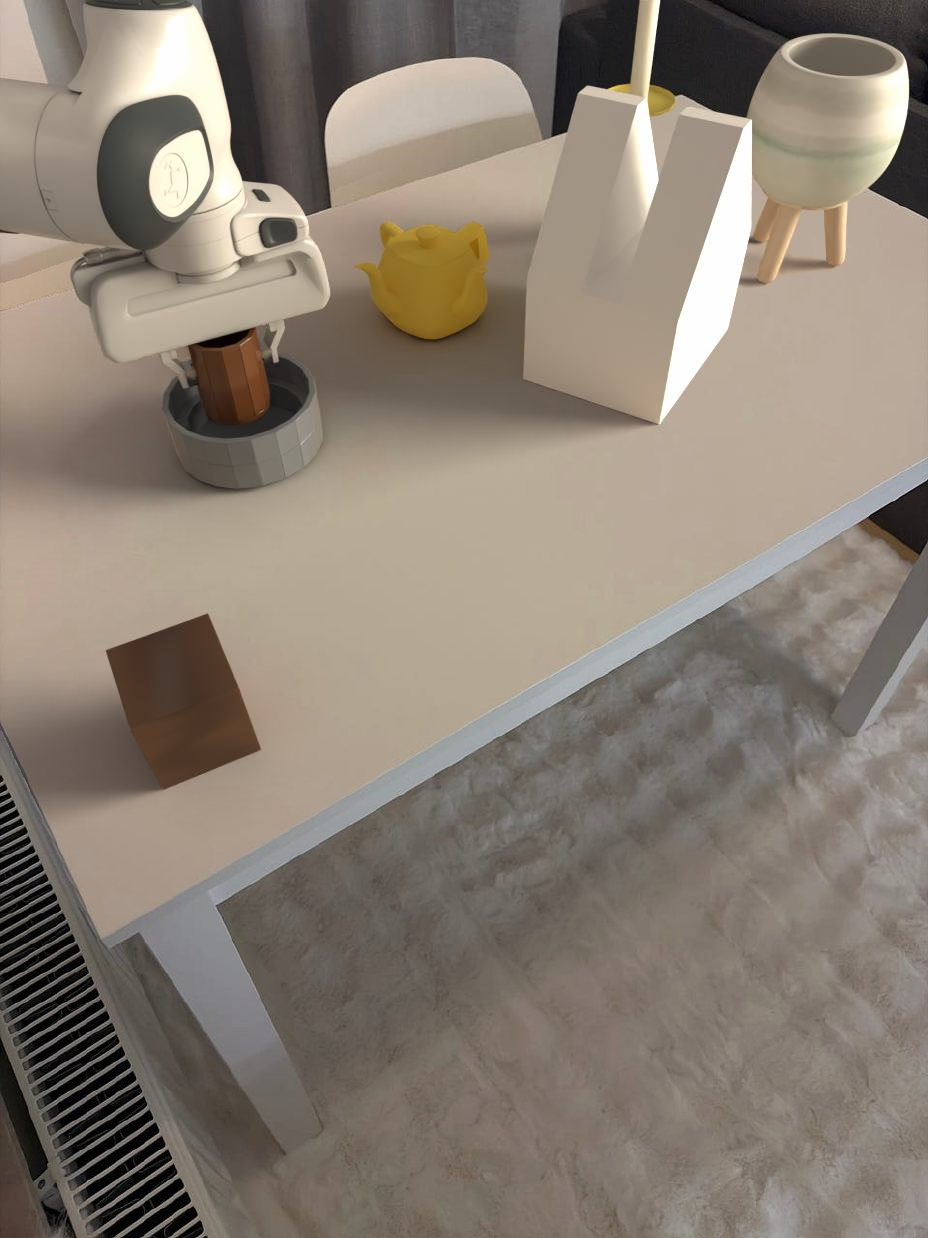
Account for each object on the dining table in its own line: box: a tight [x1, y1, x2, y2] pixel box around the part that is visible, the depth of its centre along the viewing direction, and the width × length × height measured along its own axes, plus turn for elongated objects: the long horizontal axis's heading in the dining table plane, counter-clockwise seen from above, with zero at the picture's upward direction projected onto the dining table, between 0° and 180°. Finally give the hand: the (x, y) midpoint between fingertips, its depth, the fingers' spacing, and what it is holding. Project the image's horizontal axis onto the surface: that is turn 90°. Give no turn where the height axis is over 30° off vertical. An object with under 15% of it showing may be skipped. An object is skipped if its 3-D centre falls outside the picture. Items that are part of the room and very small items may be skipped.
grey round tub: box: [161, 351, 324, 490], centre depth 88 cm, size 14×14×6 cm
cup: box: [185, 327, 270, 425], centre depth 84 cm, size 6×6×8 cm
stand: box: [105, 613, 262, 790], centre depth 66 cm, size 7×7×8 cm
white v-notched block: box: [522, 85, 752, 425], centre depth 89 cm, size 19×15×25 cm
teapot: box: [354, 220, 491, 340], centre depth 100 cm, size 14×13×10 cm
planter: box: [745, 33, 910, 284], centre depth 101 cm, size 16×16×22 cm
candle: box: [607, 0, 676, 118], centre depth 103 cm, size 10×10×32 cm
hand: (230, 372), depth 84 cm, fingers closed on cup, 6 cm apart
